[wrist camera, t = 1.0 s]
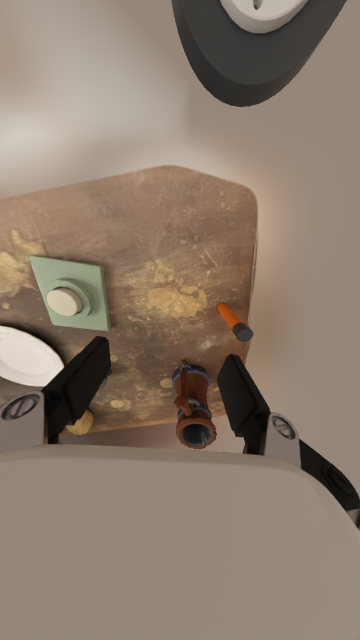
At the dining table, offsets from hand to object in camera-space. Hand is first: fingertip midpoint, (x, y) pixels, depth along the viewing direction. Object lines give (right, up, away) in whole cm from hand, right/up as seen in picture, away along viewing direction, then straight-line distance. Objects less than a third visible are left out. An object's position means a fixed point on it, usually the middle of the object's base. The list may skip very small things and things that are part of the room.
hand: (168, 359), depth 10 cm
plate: (-40, -6, +24) cm, 47 cm away
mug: (+3, -12, +28) cm, 30 cm away
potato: (-34, -29, +36) cm, 58 cm away
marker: (+10, +6, +18) cm, 22 cm away
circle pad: (-21, +7, +14) cm, 26 cm away
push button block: (-21, +8, +17) cm, 28 cm away
